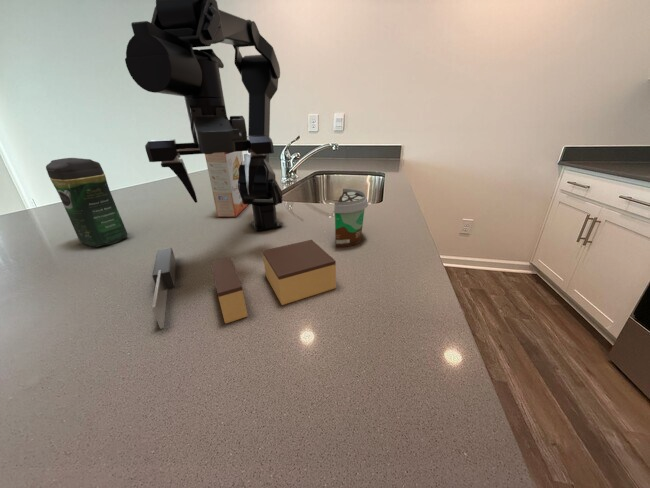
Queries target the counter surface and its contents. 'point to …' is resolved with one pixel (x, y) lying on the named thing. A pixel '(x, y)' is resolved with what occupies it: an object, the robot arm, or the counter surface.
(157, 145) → the robot arm
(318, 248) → the cake
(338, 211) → the food container
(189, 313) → the counter surface
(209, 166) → the cracker box
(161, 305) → the knife
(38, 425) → the counter surface
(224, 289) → the cake slice
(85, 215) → the coffee jar
